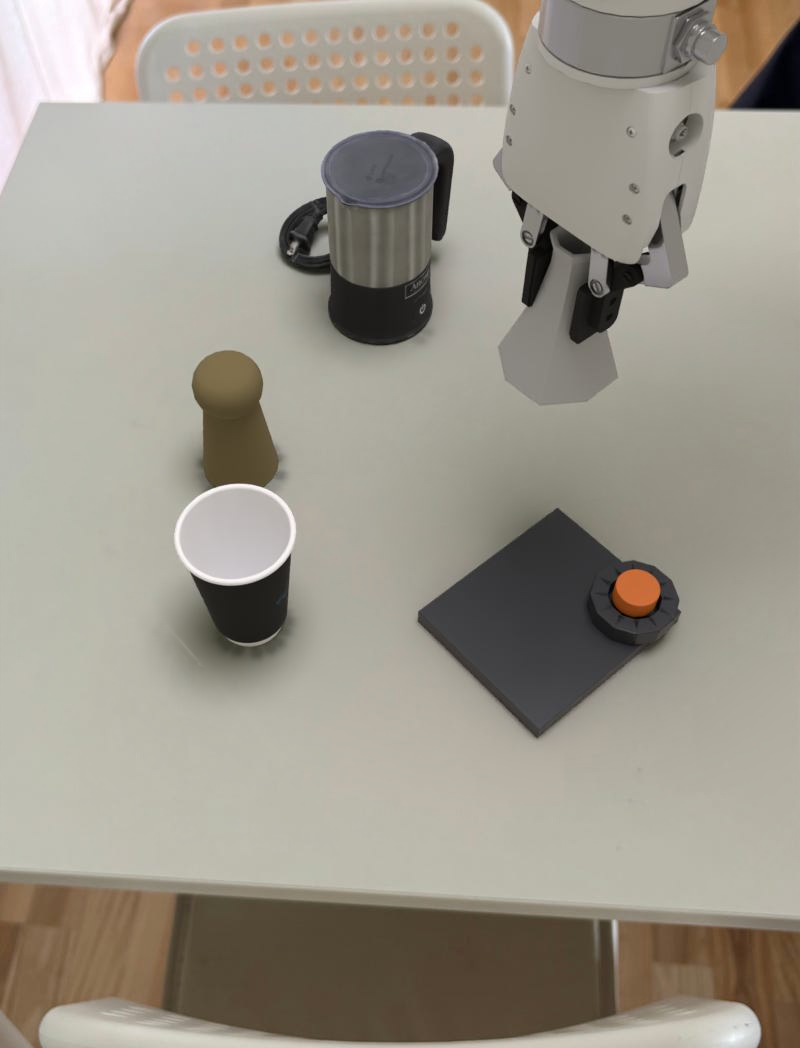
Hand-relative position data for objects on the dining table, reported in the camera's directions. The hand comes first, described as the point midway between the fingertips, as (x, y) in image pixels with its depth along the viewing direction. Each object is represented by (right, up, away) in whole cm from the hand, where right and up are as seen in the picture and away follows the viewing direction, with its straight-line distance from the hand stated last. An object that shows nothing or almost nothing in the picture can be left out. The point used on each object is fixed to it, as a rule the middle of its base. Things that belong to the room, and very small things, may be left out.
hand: (567, 310), depth 65 cm
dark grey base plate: (+2, -19, +14) cm, 24 cm away
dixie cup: (-20, -19, +15) cm, 31 cm away
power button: (+7, -17, +12) cm, 22 cm away
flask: (0, -3, +4) cm, 5 cm away
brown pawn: (-21, -7, +23) cm, 32 cm away
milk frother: (-12, +10, +34) cm, 38 cm away
